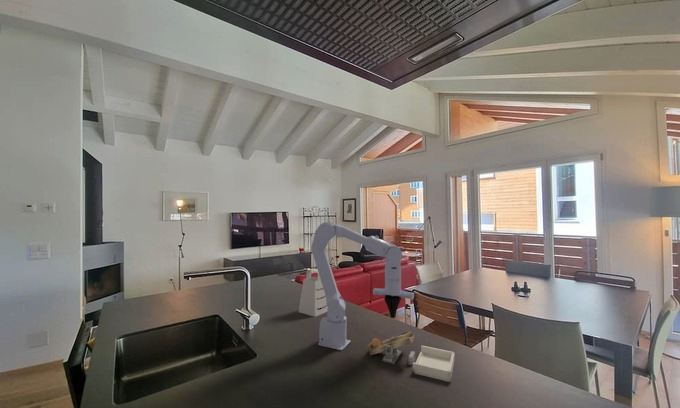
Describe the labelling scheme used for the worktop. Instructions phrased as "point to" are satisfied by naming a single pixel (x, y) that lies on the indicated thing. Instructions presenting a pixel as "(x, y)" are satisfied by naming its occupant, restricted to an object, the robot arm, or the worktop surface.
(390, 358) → the pivot base
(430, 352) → the dish
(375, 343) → the egg
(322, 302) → the grater
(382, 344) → the lever
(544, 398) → the worktop surface
